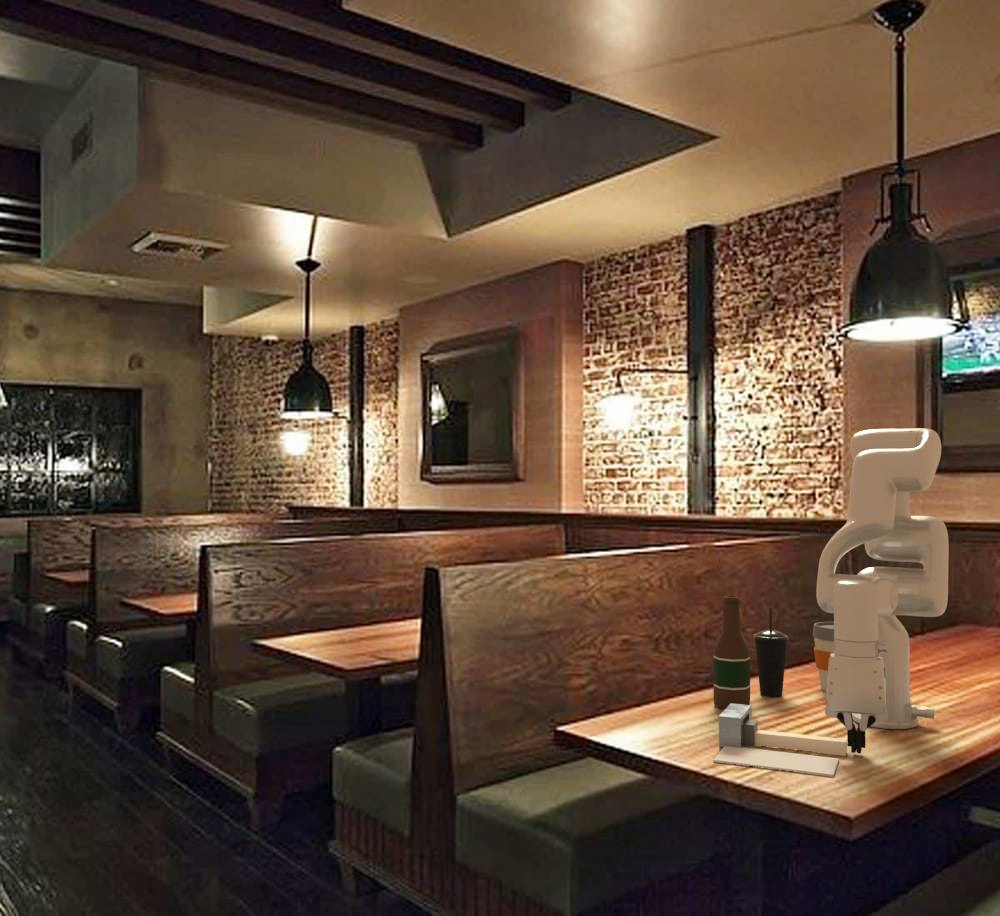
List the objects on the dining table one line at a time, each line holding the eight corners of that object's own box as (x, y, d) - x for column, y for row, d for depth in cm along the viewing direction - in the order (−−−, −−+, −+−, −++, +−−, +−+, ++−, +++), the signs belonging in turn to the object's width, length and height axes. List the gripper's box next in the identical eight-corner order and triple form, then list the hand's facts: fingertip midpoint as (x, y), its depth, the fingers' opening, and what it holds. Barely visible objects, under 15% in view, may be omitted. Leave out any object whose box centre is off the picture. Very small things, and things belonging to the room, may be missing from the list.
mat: (838, 760, 169) (838, 758, 169) (833, 777, 160) (833, 774, 160) (725, 747, 178) (725, 745, 178) (713, 762, 169) (713, 759, 169)
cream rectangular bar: (847, 751, 175) (847, 729, 175) (845, 757, 172) (845, 734, 172) (733, 738, 184) (733, 717, 184) (729, 744, 180) (729, 722, 180)
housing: (751, 735, 186) (751, 705, 186) (740, 750, 176) (740, 718, 176) (730, 732, 188) (730, 703, 188) (719, 747, 178) (718, 716, 178)
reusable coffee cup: (852, 698, 217) (851, 631, 217) (802, 688, 227) (802, 625, 227) (879, 689, 226) (878, 625, 226) (830, 681, 235) (830, 619, 235)
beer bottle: (751, 712, 204) (750, 599, 205) (713, 710, 206) (713, 598, 206) (749, 703, 212) (748, 594, 212) (713, 701, 214) (712, 593, 214)
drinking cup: (749, 691, 224) (748, 605, 224) (781, 691, 224) (780, 605, 225) (760, 699, 216) (760, 610, 216) (793, 698, 217) (793, 609, 217)
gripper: (901, 648, 174) (901, 750, 173) (814, 642, 180) (815, 741, 179) (900, 655, 167) (901, 761, 166) (810, 649, 173) (810, 751, 172)
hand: (856, 750), depth 173 cm, fingers closed
